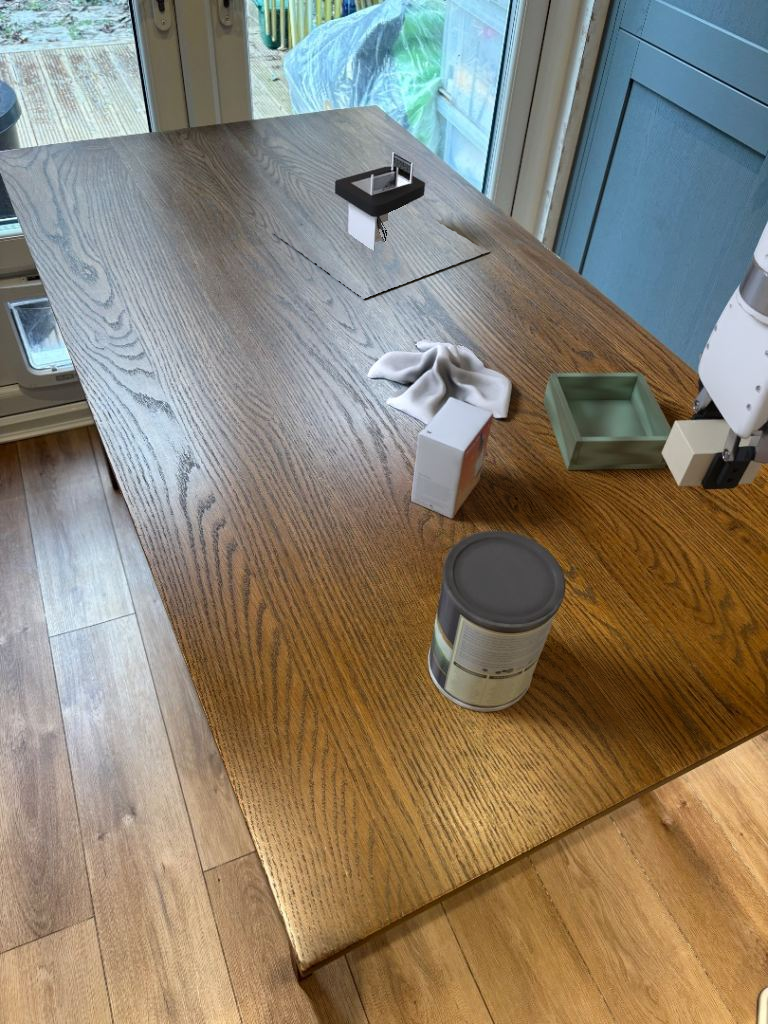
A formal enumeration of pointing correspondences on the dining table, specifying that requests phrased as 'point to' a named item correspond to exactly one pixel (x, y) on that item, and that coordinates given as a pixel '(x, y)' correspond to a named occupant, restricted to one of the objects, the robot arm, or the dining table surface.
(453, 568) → the coffee can
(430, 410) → the cloth
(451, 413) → the small box
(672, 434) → the cream rectangular block
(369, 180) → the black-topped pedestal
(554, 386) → the holder
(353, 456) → the dining table surface
